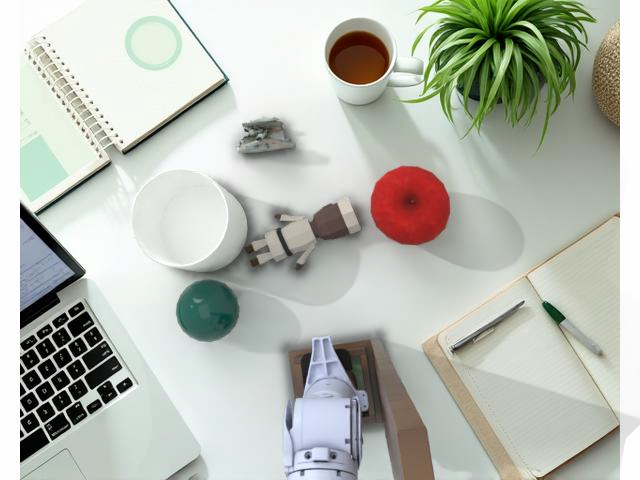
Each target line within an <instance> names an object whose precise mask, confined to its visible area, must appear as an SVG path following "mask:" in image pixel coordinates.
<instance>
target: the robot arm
mask: <svg viewBox="0 0 640 480" xmlns="http://www.w3.org/2000/svg"><path fill="white" fill-rule="evenodd" d="M311 345H312V347H311V348H312V353H306V354H304V355H303V356H302V358H301V369H302V376H307V381H306V386H305V390H304V395H303V398H296V401H295V400H294V407H293V405H292V401H291V399H290V398H287V400H286V403H285V408H284V412H283V419H282V436H281V437H282V439H281V441H282V454H283V461H284V463H283V468H284V469H283V473H284V475H285V477H286V480H359V476H358V475H359V470H360V467H361V463H362V460H363V445H364V436H363V425H362V411H366V410H368V408H369V403H368V396H367V393H366V391H364V390H360V391H358V390H356V389H355V388H354V386H353V384H352V383H351V381H350V379H349V377H348V375H347V373H346V371H348V370H353V368H352V362H351V355H350V353H349V351H348V350H347V349H344V348H340V349H334V348H333V340H332V335H331V334H326V335H319V336H313V337H312V338H311ZM363 394H364V395H363ZM364 406H366V407H364ZM293 408H294V409H293Z"/></svg>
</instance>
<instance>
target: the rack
mask: <svg viewBox="0 0 640 480" xmlns="http://www.w3.org/2000/svg"><path fill="white" fill-rule="evenodd" d="M332 345H333V348H334V349H340V348H344V349H347V350H348V351H349V353H350V355H351V362H352V368H353V370H351V371H352V373H353V374H354V376H355V378H356V381H357V390H358V391H360V390H364V391H366V393H367V396H368V403H369V408H368V410H366V411H362V426H365V425H372V424H373V425H374V424H380V423H382V426H383V430H384V436H385V442H386V446H387V447H386V448H387V451H388V456H389V462H390V466H391V467H390V468H391V472H392V476H393V480H436V477H435V471H434V464H433V458H432V453H431V445H430V438H429V434H428V429H427V427H426V424H425V423H424V420H423V419H422V417H421V415H420V413H419V411H418V409H417V407H416V406H415V404H414V402H413V400H412V398H411V396H410V394H409V392H408V390H407V388H406V386H405V385H404V382H403V381H402V379H401V377H400V375H399V374H398V371H397V370H396V368H395V366H394V363H393V362H392V360H391V358H390V356H389V354H388V352H387V351H386V349H385V347H384V345H383V343H382V341H381V339H380V337H377V338H368V339H361V340H354V341H348V342H341V343H332ZM306 353H312V347H306V348H299V349H291V350H288V351H287V354H288V360H289V367H290V368H289V369H290V374H291V381H292V388H293V396H294V402H295V401H296V398H303V395H304V390H305V386H306V381H307V376H302V369H301V358H302V356H303V355H304V354H306ZM363 395H364V394H363ZM364 407H366V406H364Z"/></svg>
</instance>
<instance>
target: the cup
mask: <svg viewBox="0 0 640 480" xmlns="http://www.w3.org/2000/svg"><path fill="white" fill-rule="evenodd" d="M130 229H131V232H132V236H133V239H134V240H135V242H136V245H137V246H138V248H139V249H140V250H141V251H142V253H143V254H144V255H145V256H147V257H148V258H149V259H150V260H152V262H154V263H157V264H159V265H160V266H161V265H162V266H165V267H168V268H172V269H178V270H184V271H185V270H186V271H189V272H197V273H198V272H199V273H200V272H201V273H209V272H214V271H217V270H220V269H222V268H225V267H226V266H228V265H229V264H231V263H232V262H234V260H235V259H236V258H237V257H238V256H239V255H240V253H241V251H242V250H243V248H244V247H245V244H246V241H247V238H248V219H247V216H246V212H245V210H244V208H243V206H242V205H241V203H240V202H239V201H238V200H237V198H236V197H235V196H234V195H233V194H232V193H231V192H229V191H228V190H227V189H225V188H224V187H223V186H222V185H220V184H219V183H218V182H217V181H216V180H214V179H213V178H211V177H210V176H209V175H208V174H206V173H204V172H202V171H200V170H197V169H192V168H188V167H175V168H171V169H166V170H164V171H161V172H158V173H157V174H155V175H154V176H152V177H151V178H149V179H148V180H147V181H146V183H145V184H143V186H142V187H140V189H139V191H138V192H137V194H136V195H135V198H134V200H133V204H132V206H131V213H130Z"/></svg>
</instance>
